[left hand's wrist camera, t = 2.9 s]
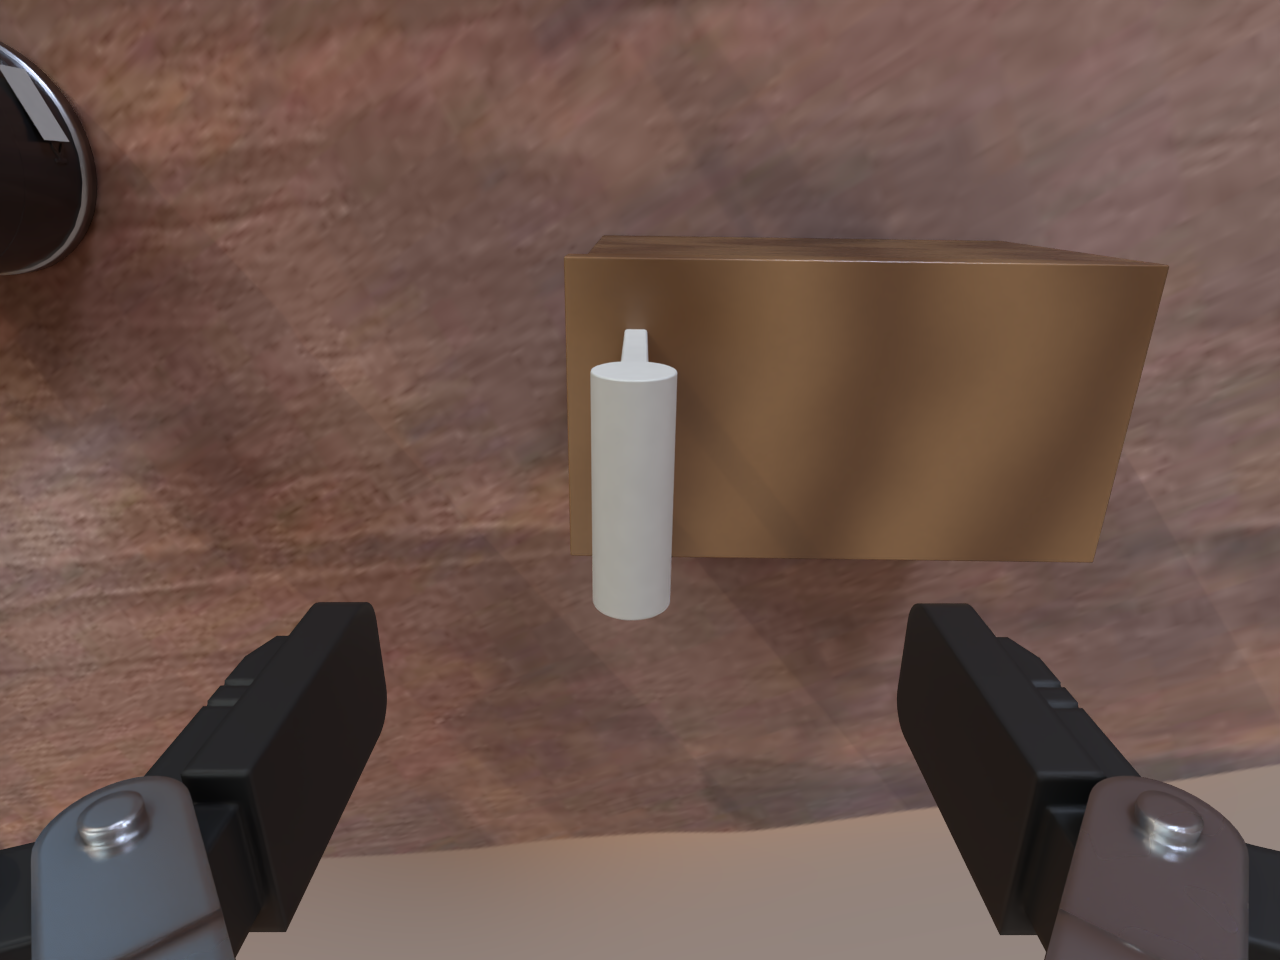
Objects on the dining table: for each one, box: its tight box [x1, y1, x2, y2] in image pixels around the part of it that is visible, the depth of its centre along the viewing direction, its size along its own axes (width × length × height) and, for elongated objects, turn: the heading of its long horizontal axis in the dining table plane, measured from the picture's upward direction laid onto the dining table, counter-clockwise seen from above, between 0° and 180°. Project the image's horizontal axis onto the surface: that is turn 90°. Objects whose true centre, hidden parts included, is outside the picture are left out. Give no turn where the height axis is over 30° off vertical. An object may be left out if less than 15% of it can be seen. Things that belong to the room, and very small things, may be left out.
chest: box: [588, 235, 1142, 262], centre depth 30 cm, size 17×10×10 cm, turn 89°
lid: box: [564, 254, 1169, 620], centre depth 21 cm, size 18×10×8 cm, turn 89°
